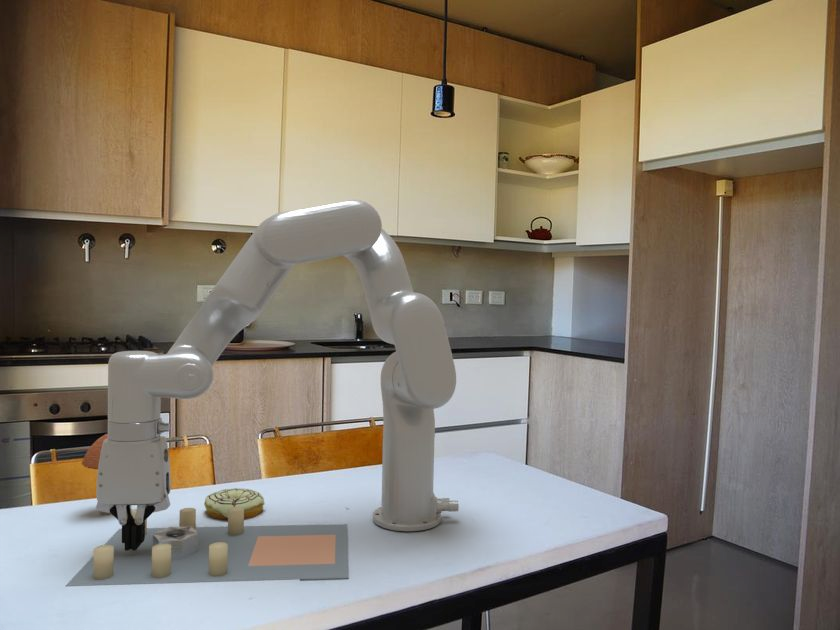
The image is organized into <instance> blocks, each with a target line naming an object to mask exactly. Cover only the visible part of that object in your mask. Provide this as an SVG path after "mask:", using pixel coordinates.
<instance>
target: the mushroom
mask: <svg viewBox="0 0 840 630" xmlns="http://www.w3.org/2000/svg"><path fill="white" fill-rule="evenodd" d="M106 438H108V433H105V434H104V435H102V436H100V437H98V438H97V439H96V440H95V441H94V442H93V443H92V444H91V446H90V447H89V448H88V449H87V451H86V453H85V455H84V457H83V459H82V461H81V465H82V466H83V467H85V468H88V469H90V470H91V469H92V470H98V465H99V459H100V454H101V449H102V445H103V441H104V440H105V439H106ZM99 512H100V514H101V515H104V516H109V515H112V514H111V513H107V512H102V511H99Z"/></svg>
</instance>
